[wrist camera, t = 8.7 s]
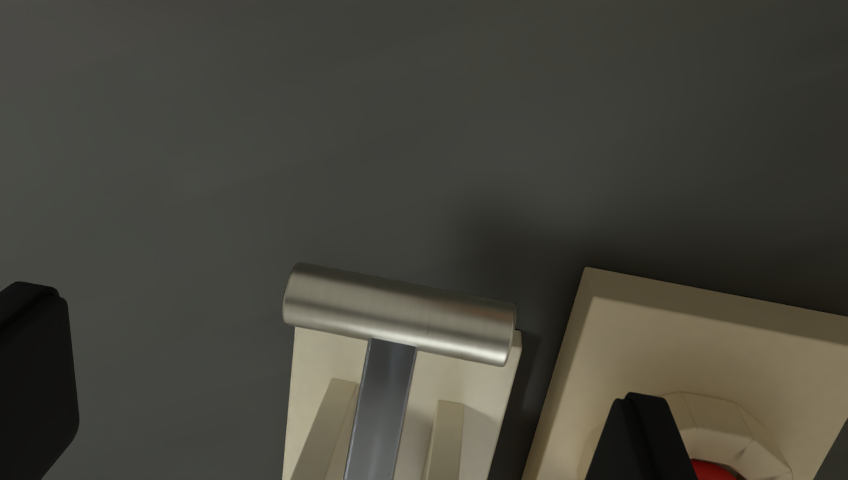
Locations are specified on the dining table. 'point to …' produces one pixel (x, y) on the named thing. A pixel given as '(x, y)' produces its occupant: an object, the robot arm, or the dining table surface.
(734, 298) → the control box
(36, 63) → the dining table surface
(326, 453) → the switch bracket
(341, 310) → the switch lever
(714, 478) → the button
